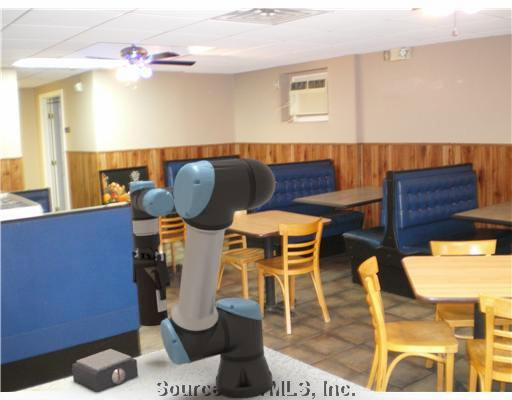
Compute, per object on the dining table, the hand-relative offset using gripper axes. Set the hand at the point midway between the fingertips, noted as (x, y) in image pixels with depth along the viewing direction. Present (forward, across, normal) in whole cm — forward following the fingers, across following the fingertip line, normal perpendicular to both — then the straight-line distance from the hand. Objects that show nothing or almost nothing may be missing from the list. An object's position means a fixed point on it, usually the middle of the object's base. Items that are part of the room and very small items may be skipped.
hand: (153, 308), depth 166 cm
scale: (+17, +4, +16) cm, 23 cm away
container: (+5, 0, 0) cm, 5 cm away
